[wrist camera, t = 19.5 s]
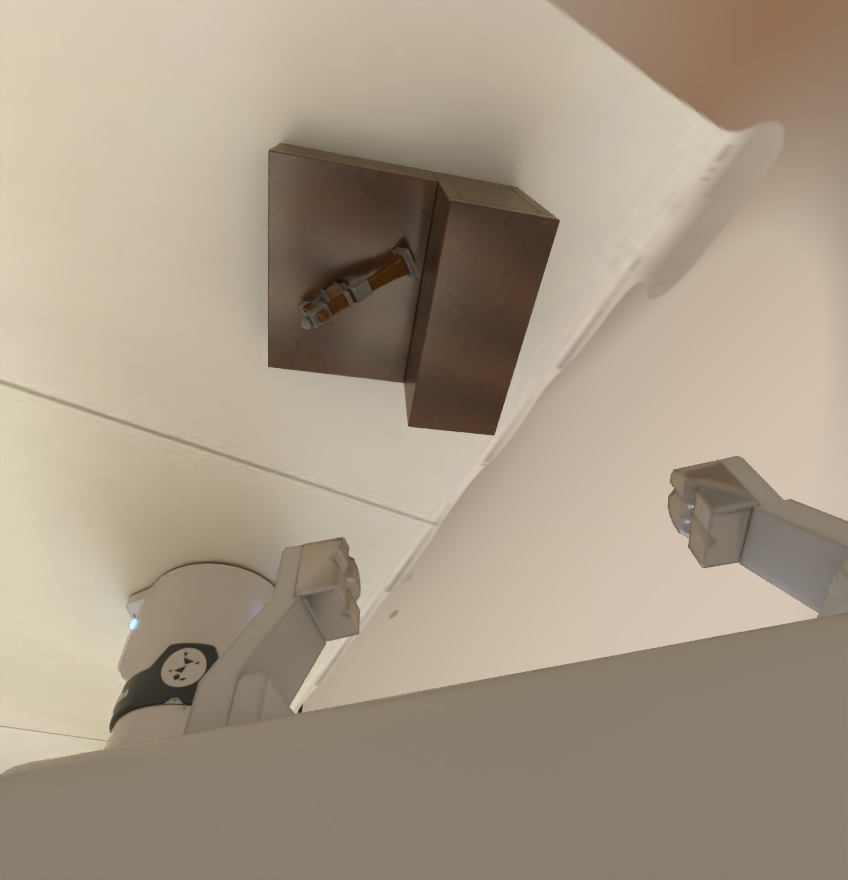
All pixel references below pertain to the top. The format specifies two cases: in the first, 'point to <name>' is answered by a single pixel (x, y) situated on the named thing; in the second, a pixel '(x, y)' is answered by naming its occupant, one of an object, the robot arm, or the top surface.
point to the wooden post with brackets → (355, 290)
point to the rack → (405, 279)
